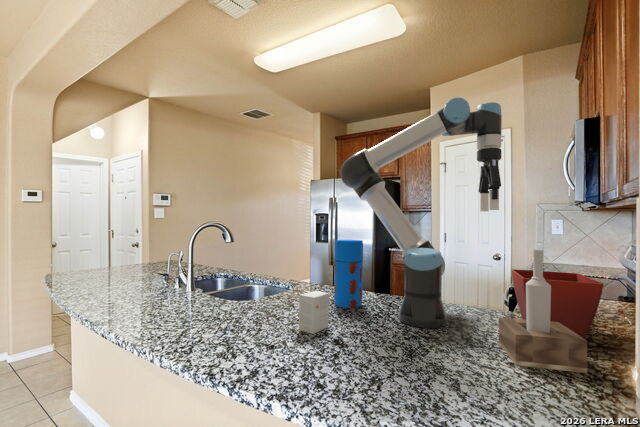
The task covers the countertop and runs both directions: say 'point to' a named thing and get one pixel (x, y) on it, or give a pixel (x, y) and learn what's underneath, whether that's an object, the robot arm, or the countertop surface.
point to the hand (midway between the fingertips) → (488, 210)
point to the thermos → (348, 273)
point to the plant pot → (564, 298)
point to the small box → (313, 311)
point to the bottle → (538, 297)
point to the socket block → (543, 346)
